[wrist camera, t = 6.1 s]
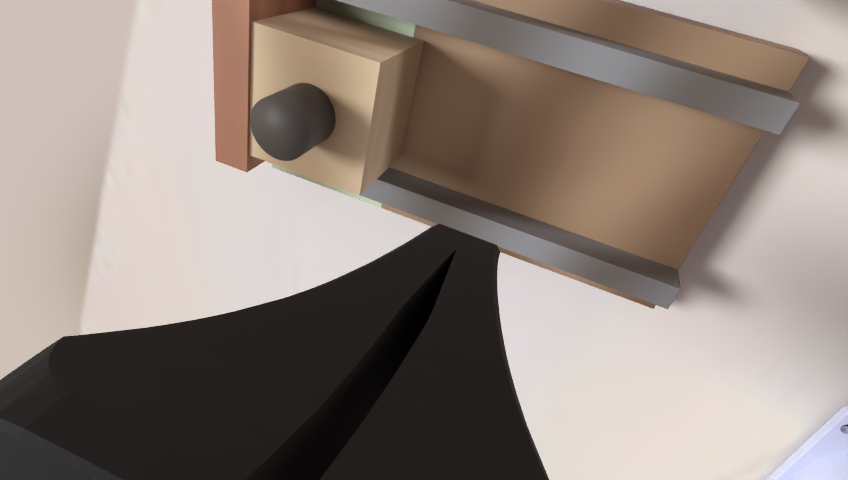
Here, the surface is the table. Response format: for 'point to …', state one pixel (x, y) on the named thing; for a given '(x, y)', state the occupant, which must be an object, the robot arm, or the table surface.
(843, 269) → the table surface
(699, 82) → the track
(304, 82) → the slider
